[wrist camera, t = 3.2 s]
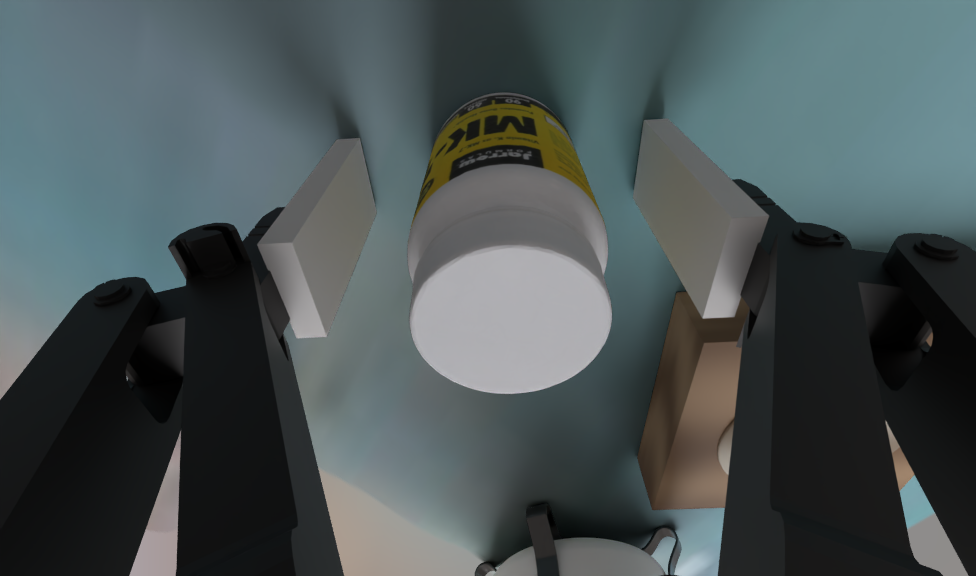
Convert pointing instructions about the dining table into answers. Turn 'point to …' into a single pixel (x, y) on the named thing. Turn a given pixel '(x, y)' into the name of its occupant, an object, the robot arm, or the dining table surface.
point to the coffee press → (580, 553)
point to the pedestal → (701, 412)
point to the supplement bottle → (507, 251)
